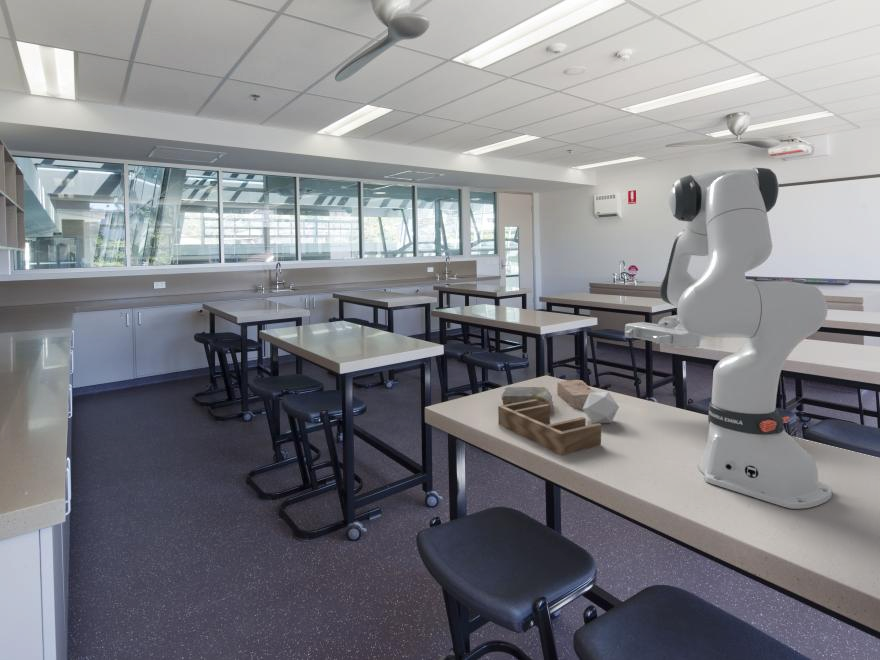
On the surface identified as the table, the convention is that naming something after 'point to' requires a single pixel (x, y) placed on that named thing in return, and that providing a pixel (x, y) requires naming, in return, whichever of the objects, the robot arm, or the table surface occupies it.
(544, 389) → the geological specimen
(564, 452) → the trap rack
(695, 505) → the table surface
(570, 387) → the brick
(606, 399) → the die
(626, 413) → the table surface
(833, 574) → the table surface
